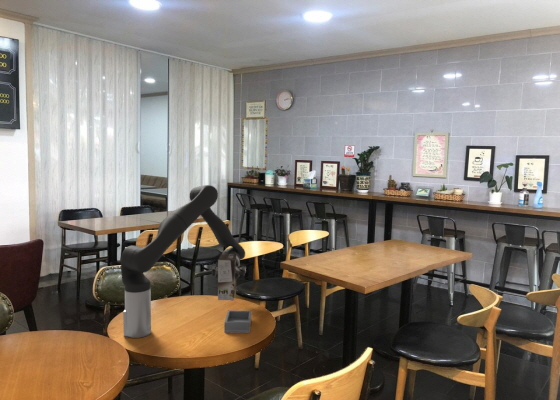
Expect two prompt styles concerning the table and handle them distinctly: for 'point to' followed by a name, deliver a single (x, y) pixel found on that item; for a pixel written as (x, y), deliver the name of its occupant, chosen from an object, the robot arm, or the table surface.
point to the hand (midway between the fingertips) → (226, 276)
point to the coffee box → (226, 277)
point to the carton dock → (237, 321)
